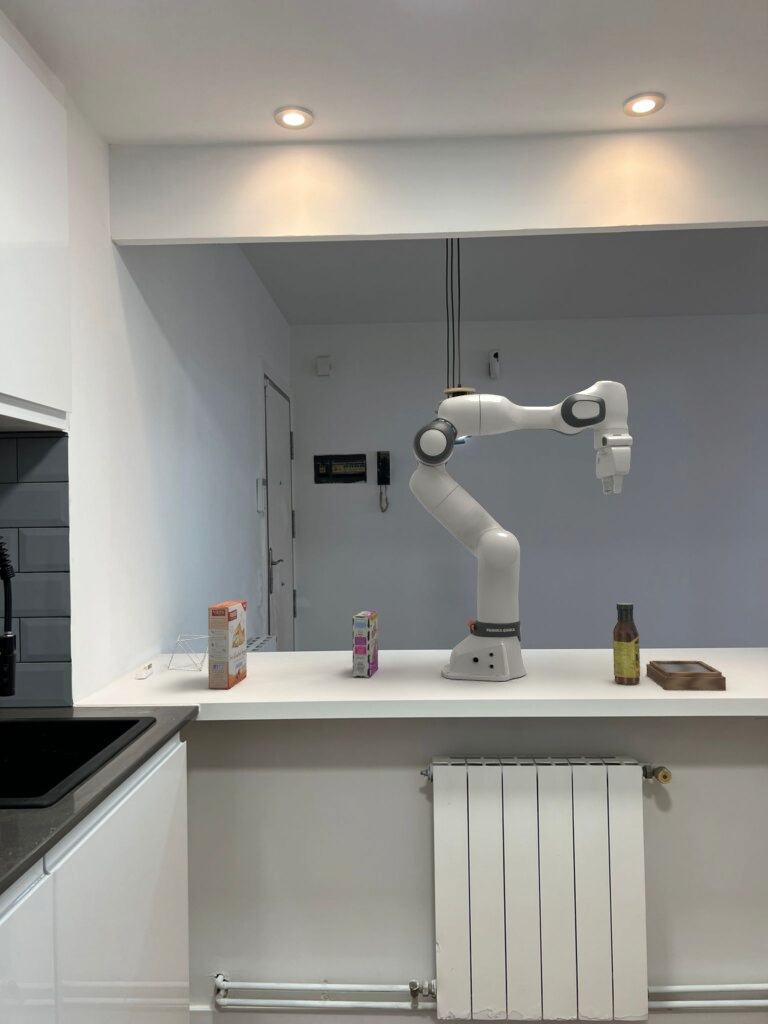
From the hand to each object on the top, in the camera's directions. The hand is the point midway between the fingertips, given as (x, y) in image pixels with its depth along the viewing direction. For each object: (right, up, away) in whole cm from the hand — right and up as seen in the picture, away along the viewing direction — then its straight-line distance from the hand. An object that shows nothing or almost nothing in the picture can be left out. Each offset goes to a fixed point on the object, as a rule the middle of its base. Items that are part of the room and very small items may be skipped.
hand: (612, 493), depth 183 cm
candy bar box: (-66, -49, +5) cm, 82 cm away
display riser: (+14, -47, -11) cm, 51 cm away
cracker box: (-101, -50, -3) cm, 113 cm away
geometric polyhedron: (-117, -50, +16) cm, 128 cm away
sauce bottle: (0, -48, -10) cm, 49 cm away
